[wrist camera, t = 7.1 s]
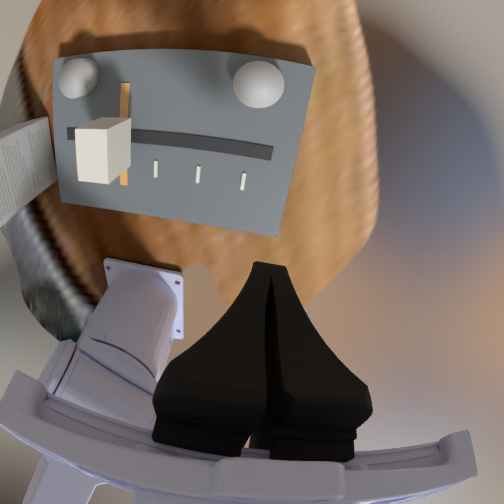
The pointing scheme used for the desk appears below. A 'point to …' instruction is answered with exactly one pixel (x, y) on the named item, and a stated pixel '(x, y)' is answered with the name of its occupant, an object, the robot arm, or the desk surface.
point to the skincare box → (25, 165)
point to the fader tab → (103, 149)
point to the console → (187, 132)
